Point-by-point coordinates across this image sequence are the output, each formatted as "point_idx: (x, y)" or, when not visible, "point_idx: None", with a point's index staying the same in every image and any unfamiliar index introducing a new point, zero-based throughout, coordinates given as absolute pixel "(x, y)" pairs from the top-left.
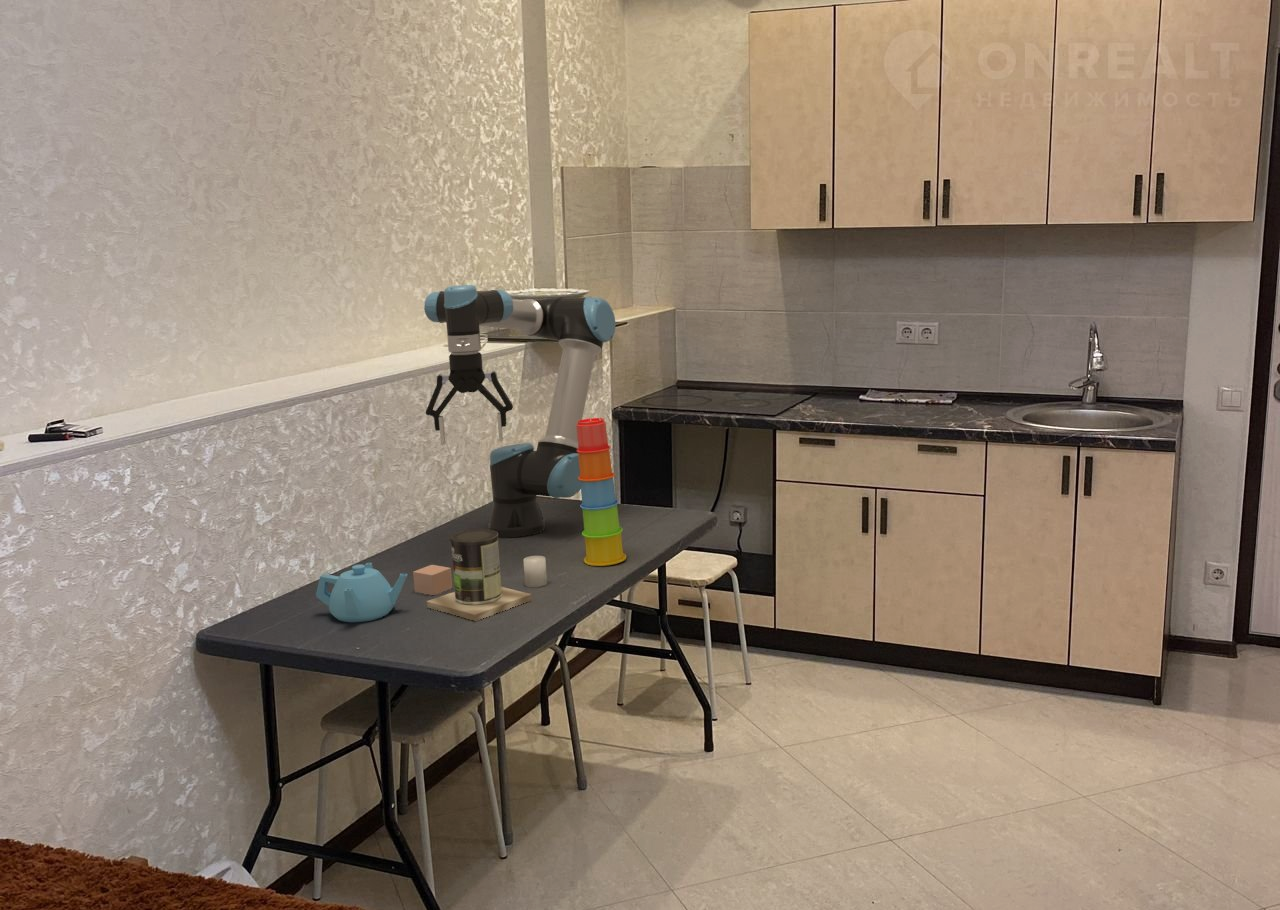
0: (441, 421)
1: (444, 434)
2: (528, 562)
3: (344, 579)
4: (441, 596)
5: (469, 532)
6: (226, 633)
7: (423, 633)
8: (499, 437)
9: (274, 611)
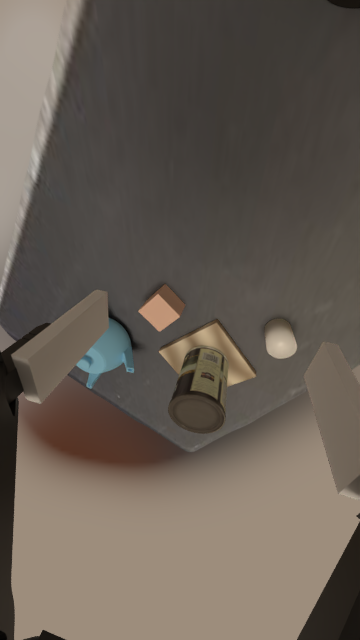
0: (50, 387)
1: (89, 313)
2: (270, 354)
3: (78, 366)
4: (172, 345)
5: (191, 401)
6: (18, 334)
7: (159, 394)
8: (309, 388)
9: (30, 299)
